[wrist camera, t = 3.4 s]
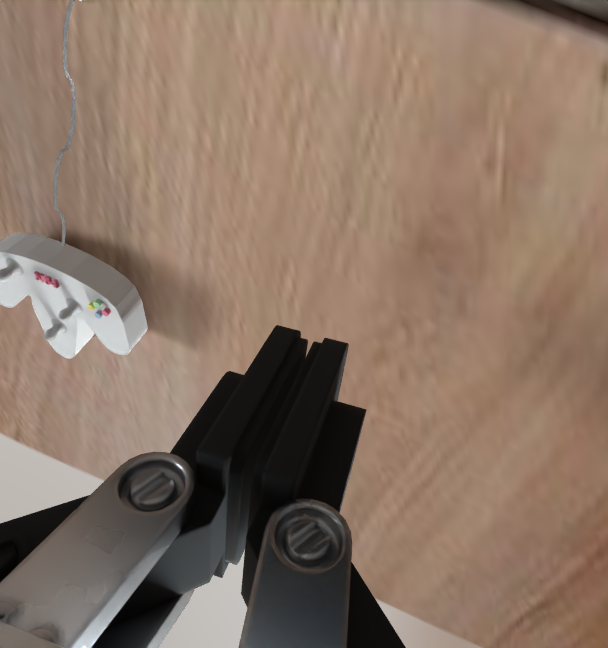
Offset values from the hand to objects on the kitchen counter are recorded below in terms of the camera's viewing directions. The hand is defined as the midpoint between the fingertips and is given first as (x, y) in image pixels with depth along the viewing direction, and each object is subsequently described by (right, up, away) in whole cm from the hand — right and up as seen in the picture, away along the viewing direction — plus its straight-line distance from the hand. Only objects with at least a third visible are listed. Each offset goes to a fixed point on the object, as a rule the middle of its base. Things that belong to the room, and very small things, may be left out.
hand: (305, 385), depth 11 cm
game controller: (-7, +5, +5) cm, 10 cm away
